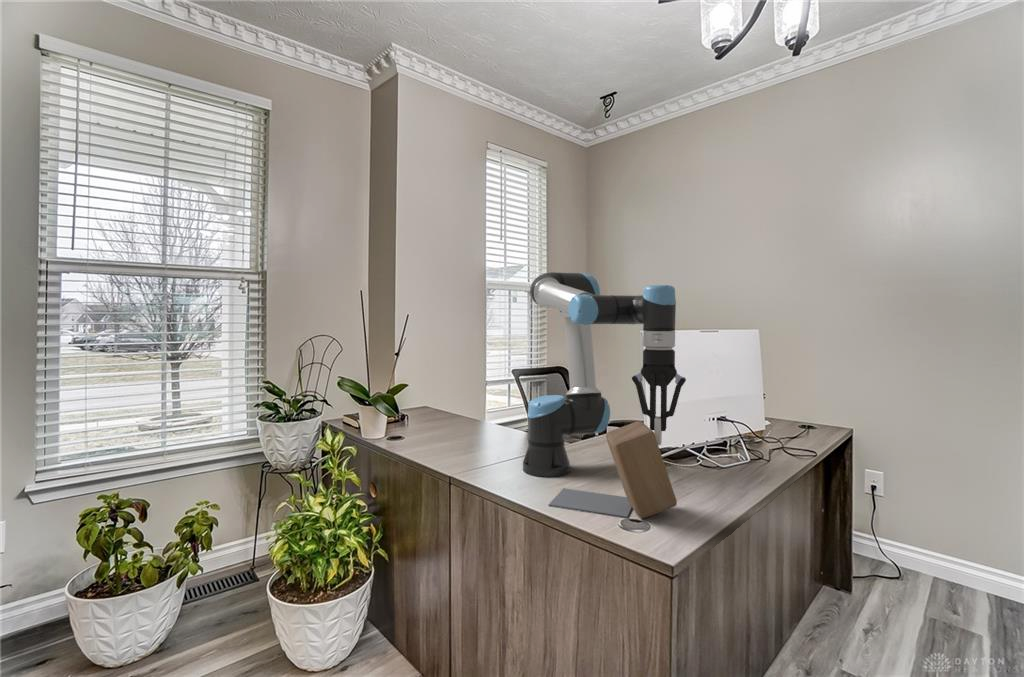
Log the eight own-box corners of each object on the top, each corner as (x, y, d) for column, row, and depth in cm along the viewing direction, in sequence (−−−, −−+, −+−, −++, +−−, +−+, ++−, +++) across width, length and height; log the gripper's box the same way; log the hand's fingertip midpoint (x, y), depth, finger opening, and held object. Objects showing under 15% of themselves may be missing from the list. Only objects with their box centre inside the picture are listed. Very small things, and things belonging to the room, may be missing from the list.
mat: (548, 505, 123) (548, 504, 123) (563, 489, 135) (563, 488, 135) (627, 518, 115) (627, 516, 115) (635, 499, 127) (635, 498, 127)
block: (627, 502, 124) (603, 432, 121) (664, 489, 124) (640, 418, 122) (640, 521, 114) (614, 444, 112) (679, 506, 114) (654, 429, 112)
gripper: (629, 348, 117) (628, 444, 117) (686, 349, 112) (685, 450, 112) (634, 347, 124) (633, 437, 124) (687, 348, 118) (686, 442, 119)
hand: (657, 443), depth 118 cm, fingers closed
